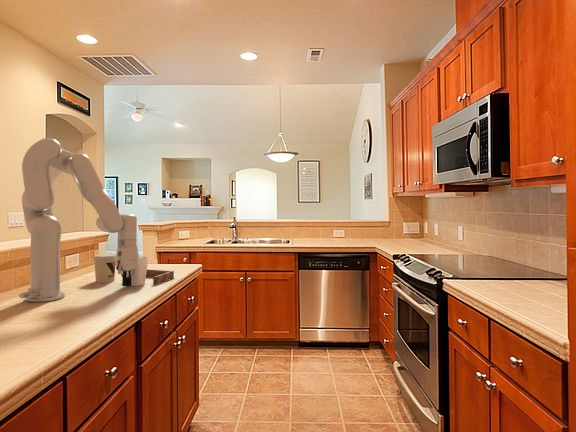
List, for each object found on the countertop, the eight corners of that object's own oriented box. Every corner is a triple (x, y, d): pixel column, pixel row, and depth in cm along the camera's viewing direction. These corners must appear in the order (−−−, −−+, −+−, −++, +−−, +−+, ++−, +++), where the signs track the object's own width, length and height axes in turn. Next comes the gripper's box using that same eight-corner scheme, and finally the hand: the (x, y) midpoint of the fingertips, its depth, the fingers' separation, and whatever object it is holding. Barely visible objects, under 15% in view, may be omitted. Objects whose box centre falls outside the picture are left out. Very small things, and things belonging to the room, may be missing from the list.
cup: (125, 283, 179) (125, 256, 179) (146, 281, 183) (146, 256, 182) (126, 287, 171) (126, 259, 171) (148, 285, 175) (148, 258, 174)
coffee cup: (110, 283, 178) (110, 256, 178) (89, 282, 179) (89, 256, 178) (119, 279, 188) (119, 254, 187) (100, 278, 188) (100, 253, 187)
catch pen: (155, 284, 177) (155, 277, 177) (123, 282, 181) (123, 274, 180) (173, 278, 193) (173, 271, 193) (143, 276, 196) (143, 269, 196)
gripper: (123, 245, 161) (123, 290, 161) (145, 242, 175) (144, 283, 176) (107, 244, 162) (107, 289, 163) (129, 241, 177) (129, 282, 178)
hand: (126, 286), depth 170 cm, fingers closed
